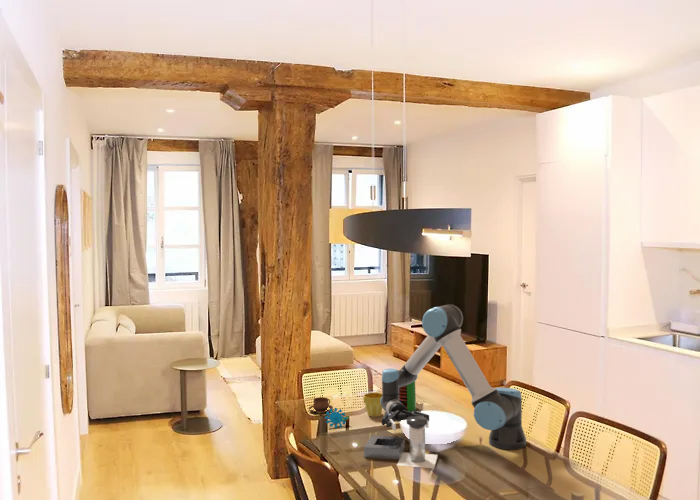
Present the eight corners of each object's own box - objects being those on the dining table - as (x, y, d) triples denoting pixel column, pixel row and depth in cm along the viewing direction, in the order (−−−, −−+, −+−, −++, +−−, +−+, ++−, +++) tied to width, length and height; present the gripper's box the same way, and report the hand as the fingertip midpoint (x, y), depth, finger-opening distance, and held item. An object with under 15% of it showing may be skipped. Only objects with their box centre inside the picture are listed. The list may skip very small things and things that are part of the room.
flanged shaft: (429, 456, 241) (428, 416, 240) (426, 464, 233) (425, 422, 232) (409, 455, 243) (408, 415, 242) (405, 462, 235) (405, 421, 234)
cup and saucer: (316, 406, 316) (316, 395, 316) (337, 409, 311) (336, 397, 311) (304, 413, 306) (304, 401, 305) (325, 416, 300) (325, 403, 300)
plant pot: (361, 417, 297) (360, 397, 297) (367, 411, 307) (366, 391, 306) (381, 418, 294) (381, 398, 293) (387, 412, 303) (386, 393, 303)
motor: (393, 408, 310) (392, 369, 309) (405, 404, 316) (404, 366, 315) (408, 412, 303) (407, 372, 302) (420, 408, 309) (419, 369, 308)
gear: (325, 425, 279) (325, 406, 286) (323, 432, 284) (323, 412, 291) (349, 427, 281) (348, 408, 288) (346, 433, 285) (346, 414, 292)
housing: (404, 449, 252) (404, 437, 252) (399, 462, 239) (399, 449, 238) (371, 447, 256) (371, 435, 255) (364, 459, 242) (364, 447, 242)
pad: (437, 457, 243) (437, 454, 243) (433, 470, 229) (433, 468, 229) (402, 454, 246) (402, 452, 246) (396, 468, 233) (396, 465, 233)
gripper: (424, 416, 268) (441, 432, 247) (368, 421, 263) (381, 437, 242) (424, 399, 268) (440, 414, 247) (368, 404, 263) (380, 419, 242)
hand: (411, 425), depth 245 cm, fingers open, 13 cm apart
